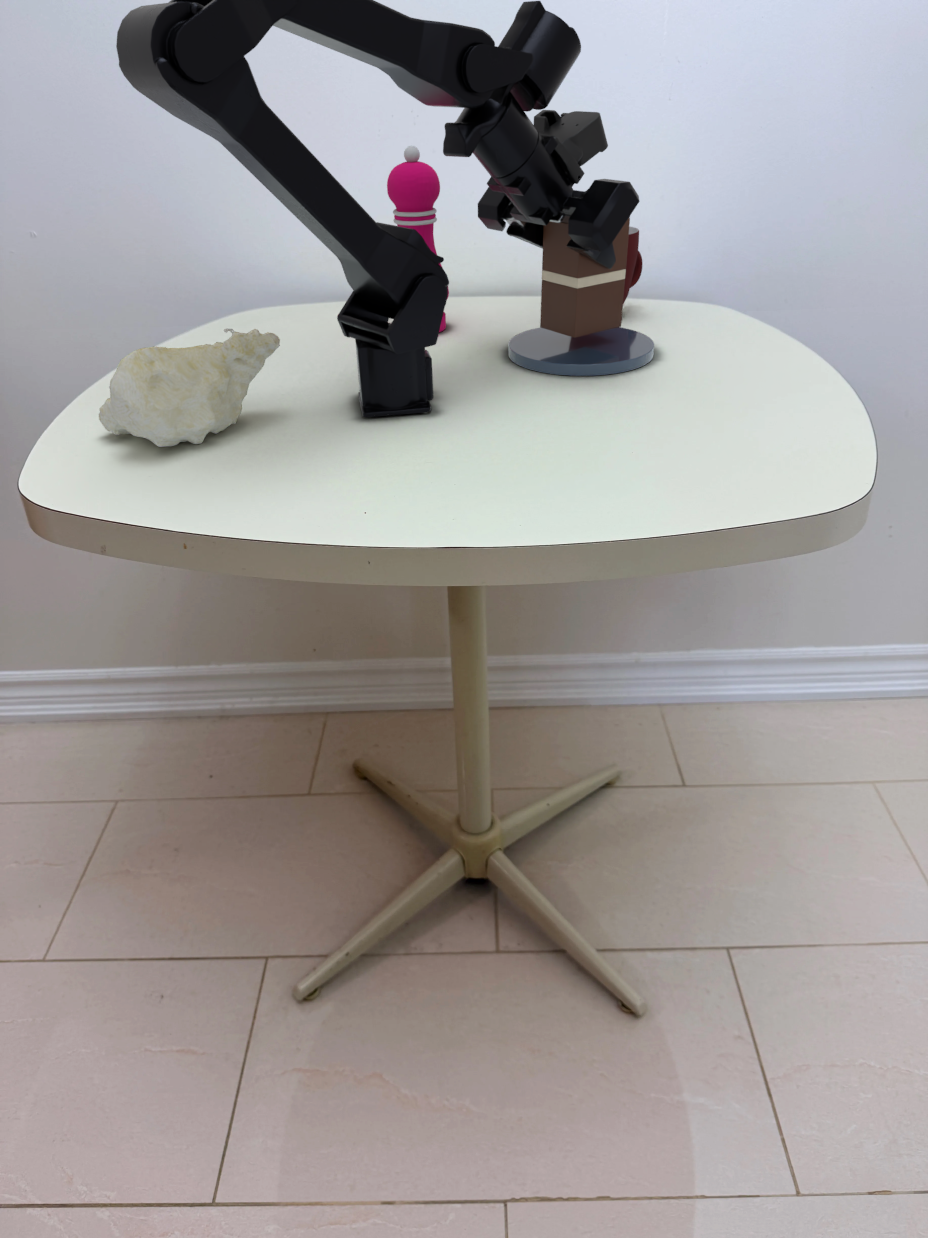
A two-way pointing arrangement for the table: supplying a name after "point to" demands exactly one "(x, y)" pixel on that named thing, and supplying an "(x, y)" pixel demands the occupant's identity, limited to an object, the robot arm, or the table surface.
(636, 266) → the mug
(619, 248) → the cake slice
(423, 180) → the pepper mill
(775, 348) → the table surface
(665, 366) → the table surface
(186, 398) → the white seashell
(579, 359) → the plate
